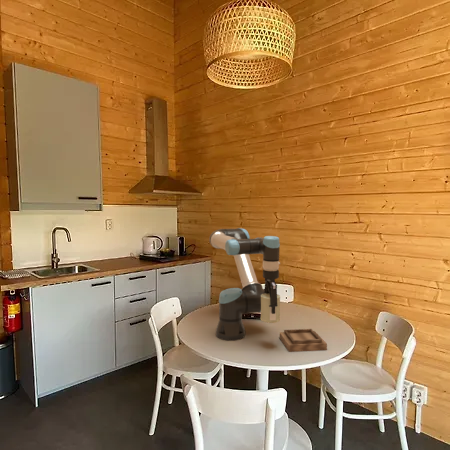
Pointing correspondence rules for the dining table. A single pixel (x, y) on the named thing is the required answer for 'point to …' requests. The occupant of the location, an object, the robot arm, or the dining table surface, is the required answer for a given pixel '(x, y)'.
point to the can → (266, 309)
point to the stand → (302, 340)
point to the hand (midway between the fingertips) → (270, 316)
